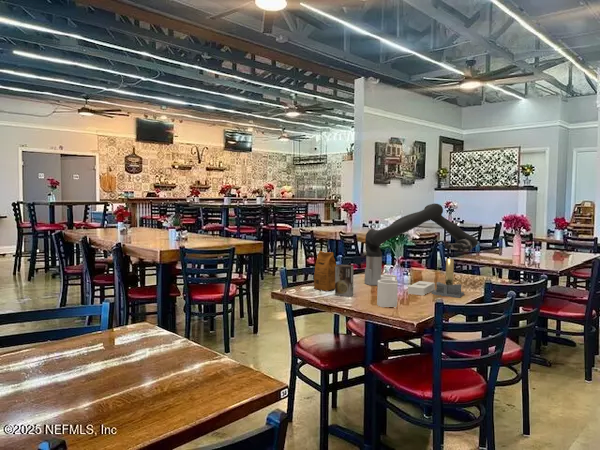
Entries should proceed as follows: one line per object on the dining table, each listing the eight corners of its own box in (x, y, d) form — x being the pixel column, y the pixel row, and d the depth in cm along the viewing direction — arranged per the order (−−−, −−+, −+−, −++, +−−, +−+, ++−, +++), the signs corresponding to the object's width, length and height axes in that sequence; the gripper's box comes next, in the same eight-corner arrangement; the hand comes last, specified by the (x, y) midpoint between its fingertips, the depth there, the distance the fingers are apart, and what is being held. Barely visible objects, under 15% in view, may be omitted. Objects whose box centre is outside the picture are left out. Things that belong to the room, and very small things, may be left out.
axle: (448, 292, 252) (449, 259, 250) (443, 290, 255) (444, 258, 254) (454, 291, 253) (455, 259, 252) (449, 290, 257) (450, 258, 256)
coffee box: (353, 294, 250) (354, 265, 249) (351, 296, 244) (351, 266, 243) (337, 292, 253) (337, 264, 252) (334, 295, 247) (335, 265, 246)
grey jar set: (379, 296, 246) (379, 274, 245) (397, 297, 244) (398, 275, 243) (376, 307, 222) (376, 282, 221) (396, 308, 219) (397, 283, 219)
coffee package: (323, 286, 271) (323, 249, 270) (338, 289, 262) (339, 251, 260) (311, 288, 264) (311, 250, 263) (326, 292, 255) (326, 253, 254)
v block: (459, 297, 244) (459, 286, 243) (431, 294, 252) (431, 283, 252) (463, 294, 252) (464, 283, 252) (436, 291, 260) (437, 280, 260)
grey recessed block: (423, 295, 249) (423, 288, 248) (407, 293, 254) (408, 286, 253) (434, 289, 265) (434, 282, 265) (419, 287, 270) (419, 281, 270)
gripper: (450, 238, 279) (443, 240, 265) (475, 240, 271) (468, 242, 258) (450, 250, 279) (442, 252, 266) (474, 252, 272) (468, 255, 258)
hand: (455, 247), depth 262 cm, fingers open, 8 cm apart
